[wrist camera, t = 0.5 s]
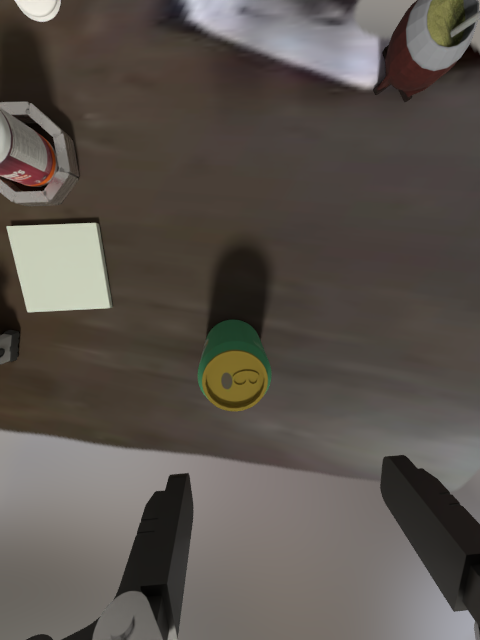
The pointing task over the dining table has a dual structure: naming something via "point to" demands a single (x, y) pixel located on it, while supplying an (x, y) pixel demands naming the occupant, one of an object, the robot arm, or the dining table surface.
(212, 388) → the beverage can
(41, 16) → the chess piece
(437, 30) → the mate gourd
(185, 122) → the dining table surface
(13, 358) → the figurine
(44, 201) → the steel collar
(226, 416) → the dining table surface
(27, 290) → the sage pad
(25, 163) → the pill bottle
